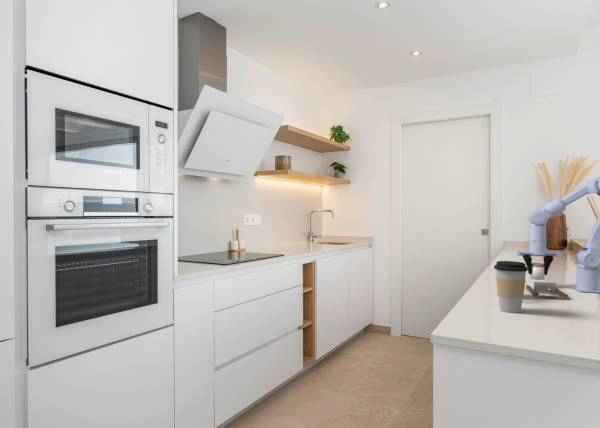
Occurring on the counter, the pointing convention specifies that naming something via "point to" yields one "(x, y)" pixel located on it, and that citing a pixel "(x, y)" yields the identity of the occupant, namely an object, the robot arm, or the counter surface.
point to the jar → (538, 271)
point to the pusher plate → (545, 287)
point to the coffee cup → (510, 285)
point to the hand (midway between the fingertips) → (537, 274)
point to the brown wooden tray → (561, 296)
